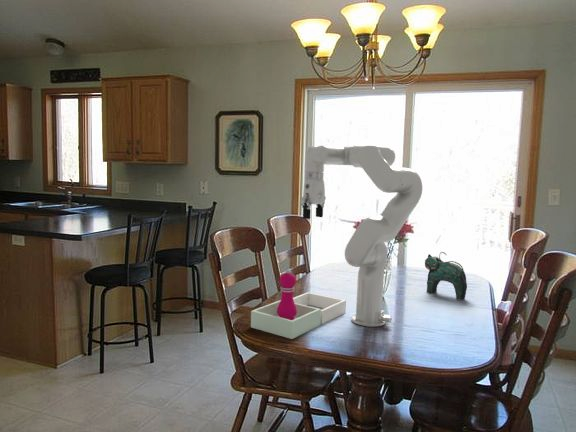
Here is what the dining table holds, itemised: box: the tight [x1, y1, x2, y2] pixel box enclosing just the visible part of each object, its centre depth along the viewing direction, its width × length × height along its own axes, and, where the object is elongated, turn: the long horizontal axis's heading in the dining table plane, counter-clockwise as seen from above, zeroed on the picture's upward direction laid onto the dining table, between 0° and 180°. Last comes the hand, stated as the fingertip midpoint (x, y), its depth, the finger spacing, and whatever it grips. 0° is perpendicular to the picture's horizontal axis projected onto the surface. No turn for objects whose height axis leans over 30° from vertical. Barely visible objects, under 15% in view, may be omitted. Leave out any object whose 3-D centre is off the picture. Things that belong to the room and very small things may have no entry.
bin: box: [250, 299, 322, 340], centre depth 169 cm, size 18×18×6 cm
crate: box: [293, 291, 347, 325], centre depth 184 cm, size 18×18×5 cm
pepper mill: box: [277, 268, 297, 320], centre depth 168 cm, size 7×7×20 cm
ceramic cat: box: [424, 251, 468, 301], centre depth 215 cm, size 20×6×20 cm, turn 41°
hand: (312, 217), depth 194 cm, fingers open, 9 cm apart
